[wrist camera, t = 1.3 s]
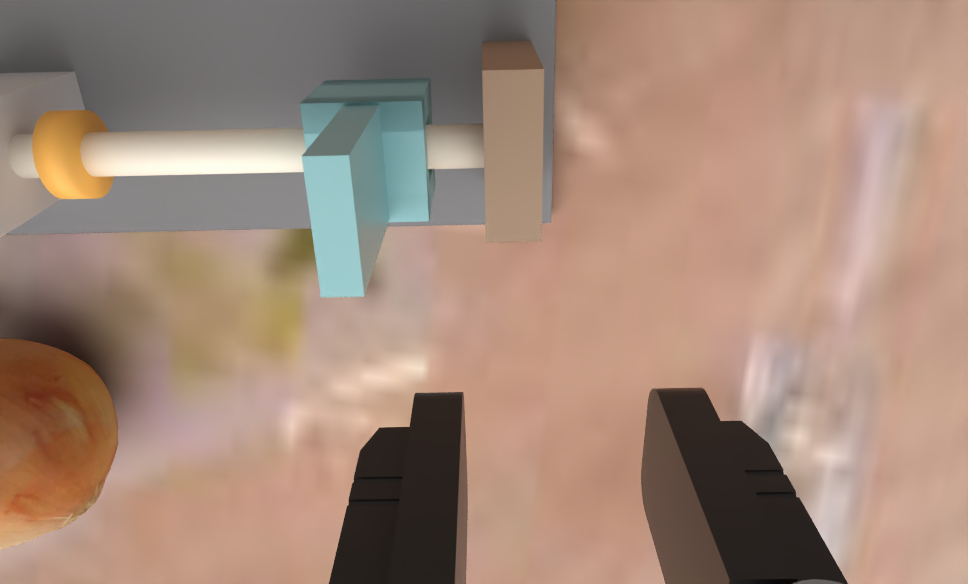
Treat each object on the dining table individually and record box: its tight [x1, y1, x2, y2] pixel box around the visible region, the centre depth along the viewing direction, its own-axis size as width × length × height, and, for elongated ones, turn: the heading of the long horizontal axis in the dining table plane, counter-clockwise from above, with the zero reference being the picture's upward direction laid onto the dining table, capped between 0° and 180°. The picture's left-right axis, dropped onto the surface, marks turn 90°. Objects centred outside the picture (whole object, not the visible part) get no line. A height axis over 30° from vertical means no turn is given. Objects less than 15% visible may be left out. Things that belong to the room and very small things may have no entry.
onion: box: [0, 338, 118, 549], centre depth 34 cm, size 10×10×10 cm
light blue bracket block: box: [300, 78, 436, 297], centre depth 24 cm, size 4×4×10 cm
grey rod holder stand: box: [0, 0, 556, 243], centre depth 28 cm, size 26×10×8 cm, turn 91°
